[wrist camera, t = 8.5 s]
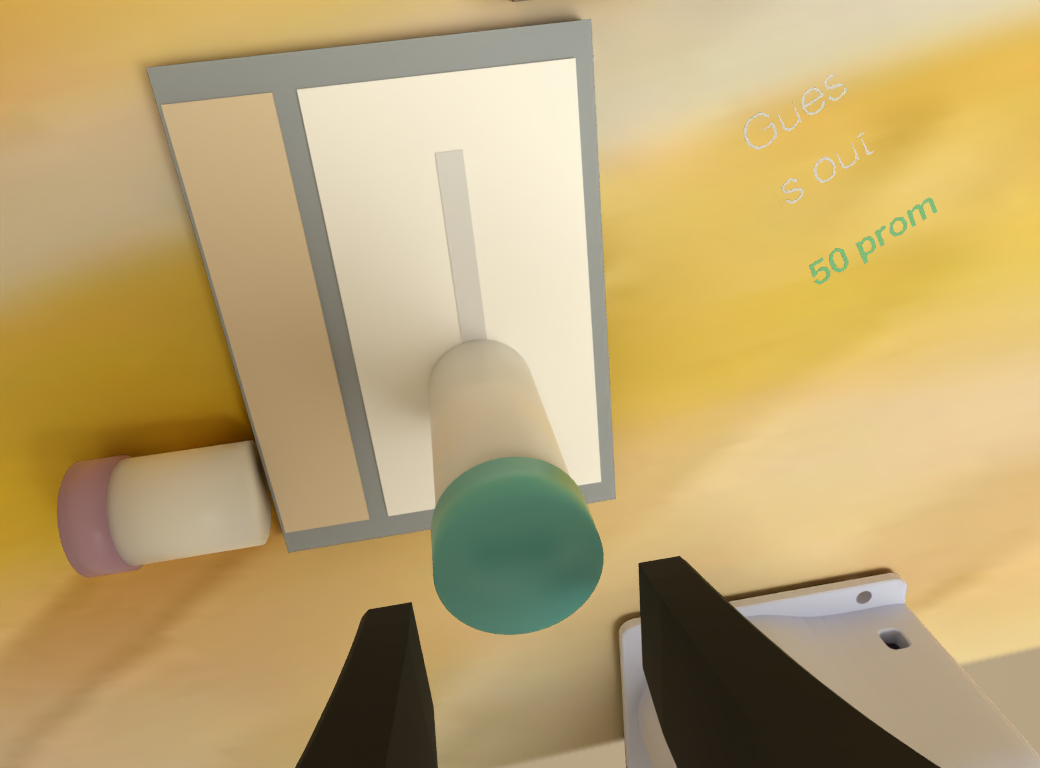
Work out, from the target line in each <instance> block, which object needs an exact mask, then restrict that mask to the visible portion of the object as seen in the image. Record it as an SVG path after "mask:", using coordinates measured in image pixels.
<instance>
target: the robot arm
mask: <svg viewBox="0 0 1040 768" xmlns="http://www.w3.org/2000/svg"><path fill="white" fill-rule="evenodd" d="M639 588H640V615H641V617H639V618H634V619H631V620H628V621H626V622H625V623H624V624H623V625H622V626H621V627H620V630H619V646H620V665H621V683H622V702H623V720H624V738H625V755H626V768H1040V757H1039V755H1038V754H1037V753H1036V752H1035V750H1034V749H1033V748H1032V747H1031V745H1030V744H1029V743H1028V742H1027V740H1026V739H1025V738H1024V737H1023V736H1022V735H1021V734H1020V733H1019V731H1018V730H1017V729H1016V728H1015V727H1014V726H1013V725H1012V724H1011V722H1010V721H1009V720H1008V719H1007V718H1006V717H1005V716H1004V715H1003V713H1002V712H1001V711H1000V710H999V709H998V708H997V707H996V706H995V704H994V703H993V702H992V701H991V700H990V699H989V698H988V697H987V696H986V694H985V693H984V692H983V691H982V690H981V689H980V688H979V686H978V685H977V684H976V683H975V682H974V681H973V680H972V679H971V677H970V676H969V675H968V674H967V673H966V672H965V671H964V670H963V669H962V667H961V666H960V665H959V664H958V663H957V662H956V661H955V659H954V658H953V657H952V656H951V655H950V654H949V653H948V652H947V651H946V649H945V648H944V647H943V646H942V645H941V644H940V643H939V642H938V640H937V639H936V638H935V637H934V636H933V635H932V634H931V633H930V631H929V630H928V629H927V628H926V627H925V626H924V625H923V624H922V622H921V621H920V620H919V619H918V618H917V617H916V616H915V615H914V613H913V612H912V611H911V610H910V609H909V608H908V607H907V606H906V604H905V598H906V592H907V584H906V583H905V581H904V580H903V579H902V578H901V577H900V576H899V575H898V574H895V573H886V574H881V575H875V576H870V577H864V578H858V579H853V580H847V581H842V582H836V583H830V584H825V585H819V586H813V587H808V588H802V589H797V590H791V591H785V592H780V593H774V594H769V595H763V596H757V597H752V598H746V599H740V600H735V601H729V602H728V601H727V600H726V599H725V598H724V597H723V596H722V595H721V594H720V593H719V592H717V591H716V590H715V589H714V588H713V587H712V586H711V585H710V584H709V583H708V582H707V581H706V580H705V579H704V578H703V577H702V576H701V575H700V574H699V573H698V572H697V571H696V570H695V569H694V568H693V567H692V566H691V565H690V564H689V563H688V562H686V561H685V560H684V559H682V558H681V557H680V556H677V557H672V558H666V559H660V560H654V561H648V562H642V563H639ZM861 592H862V593H861ZM860 593H861V594H860ZM295 768H438V765H437V750H436V736H435V722H434V708H433V702H432V697H431V692H430V688H429V683H428V678H427V673H426V669H425V664H424V659H423V654H422V650H421V645H420V640H419V635H418V631H417V626H416V621H415V616H414V612H413V607H412V602H410V603H404V604H398V605H392V606H387V607H381V608H375V609H369V610H368V611H367V612H366V613H365V614H364V616H363V617H362V619H361V622H360V625H359V628H358V631H357V633H356V636H355V639H354V641H353V644H352V647H351V649H350V652H349V654H348V657H347V659H346V662H345V664H344V666H343V669H342V671H341V673H340V676H339V678H338V680H337V683H336V685H335V687H334V689H333V692H332V694H331V696H330V698H329V700H328V702H327V704H326V707H325V709H324V711H323V713H322V715H321V717H320V719H319V721H318V723H317V725H316V728H315V730H314V732H313V734H312V736H311V738H310V740H309V742H308V744H307V746H306V748H305V750H304V752H303V754H302V756H301V758H300V759H299V761H298V763H297V765H296V767H295Z"/></svg>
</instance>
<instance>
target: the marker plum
mask: <svg viewBox="0 0 1040 768" xmlns="http://www.w3.org/2000/svg"><path fill="white" fill-rule="evenodd" d="M57 517H58V528H59V534H60V539H61V543H62V546H63V549H64V552H65V554H66V557H67V559H68V560H69V562H70V564H71V565H72V567H73V568H74V569H75V570H76V571H77V572H78V573H79V574H80V575H82V576H84V577H88V578H90V577H97V576H103V575H109V574H116V573H122V572H128V571H134V570H138V569H140V568H141V567H142V566H143V565H144V564H150V563H156V562H162V561H169V560H175V559H181V558H187V557H193V556H199V555H205V554H211V553H217V552H223V551H229V550H235V549H241V548H248V547H254V546H260V545H264V544H265V543H266V542H267V540H268V537H269V534H270V527H271V497H270V488H269V484H268V481H267V478H266V474H265V471H264V467H263V464H262V461H261V457H260V454H259V450H258V447H257V445H256V443H255V442H254V441H252V440H249V441H242V442H235V443H229V444H222V445H215V446H208V447H202V448H195V449H188V450H181V451H174V452H168V453H161V454H154V455H147V456H141V457H134V458H133V457H131V456H129V455H119V456H112V457H106V458H99V459H92V460H85V461H79V462H76V463H74V464H73V465H72V466H71V467H70V468H69V469H68V470H67V472H66V474H65V476H64V478H63V480H62V483H61V486H60V491H59V496H58V507H57Z"/></svg>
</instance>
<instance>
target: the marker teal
mask: <svg viewBox="0 0 1040 768" xmlns="http://www.w3.org/2000/svg"><path fill="white" fill-rule="evenodd" d="M429 406H430V423H431V440H432V457H433V474H434V491H435V509H434V512H433V516H432V522H431V539H432V560H433V577H434V584H435V588H436V592H437V594H438V596H439V598H440V600H441V602H442V603H443V605H444V606H445V607H446V609H447V610H448V611H449V612H450V613H451V614H452V615H453V616H455V617H456V618H457V619H458V620H460V621H461V622H463V623H465V624H466V625H468V626H471V627H473V628H475V629H478V630H481V631H484V632H489V633H494V634H504V635H513V634H524V633H530V632H534V631H539V630H541V629H544V628H547V627H550V626H552V625H554V624H556V623H559V622H560V621H562V620H564V619H565V618H567V617H568V616H570V615H571V614H573V613H574V612H575V611H576V610H577V609H579V608H580V607H581V606H582V605H583V604H584V603H585V601H586V600H587V599H588V598H589V597H590V595H591V594H592V592H593V591H594V589H595V587H596V585H597V583H598V581H599V579H600V576H601V573H602V567H603V548H602V543H601V540H600V537H599V534H598V532H597V529H596V527H595V524H594V522H593V519H592V516H591V514H590V511H589V509H588V506H587V504H586V501H585V498H584V496H583V494H582V492H581V490H580V488H579V487H578V485H577V484H576V483H575V481H574V480H573V479H572V478H571V477H570V475H569V472H568V469H567V467H566V464H565V461H564V459H563V456H562V454H561V451H560V448H559V446H558V443H557V440H556V438H555V435H554V432H553V430H552V427H551V424H550V422H549V419H548V416H547V414H546V411H545V408H544V406H543V403H542V400H541V398H540V395H539V393H538V390H537V387H536V385H535V382H534V379H533V377H532V374H531V371H530V369H529V367H528V365H527V363H526V361H525V360H524V358H523V357H522V356H521V355H520V354H519V353H518V352H517V351H516V350H514V349H513V348H511V347H510V346H508V345H506V344H503V343H501V342H498V341H493V340H483V339H481V340H472V341H467V342H465V343H462V344H459V345H457V346H455V347H453V348H452V349H450V350H449V351H448V352H446V353H445V354H444V355H443V356H442V357H441V358H440V359H439V361H438V362H437V363H436V365H435V367H434V369H433V371H432V373H431V376H430V380H429Z"/></svg>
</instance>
